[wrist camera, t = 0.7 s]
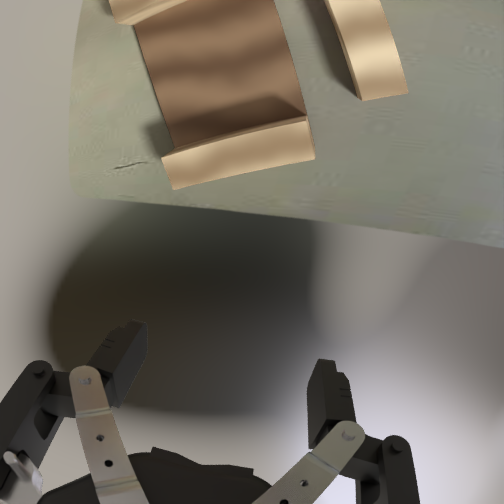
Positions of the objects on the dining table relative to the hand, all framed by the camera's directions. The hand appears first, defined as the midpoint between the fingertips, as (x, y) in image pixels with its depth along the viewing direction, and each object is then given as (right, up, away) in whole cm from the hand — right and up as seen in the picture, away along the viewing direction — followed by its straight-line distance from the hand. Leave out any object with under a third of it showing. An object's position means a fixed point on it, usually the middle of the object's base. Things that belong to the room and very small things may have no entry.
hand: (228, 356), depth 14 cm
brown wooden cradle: (-3, +26, +17) cm, 31 cm away
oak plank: (+12, +28, +12) cm, 33 cm away
